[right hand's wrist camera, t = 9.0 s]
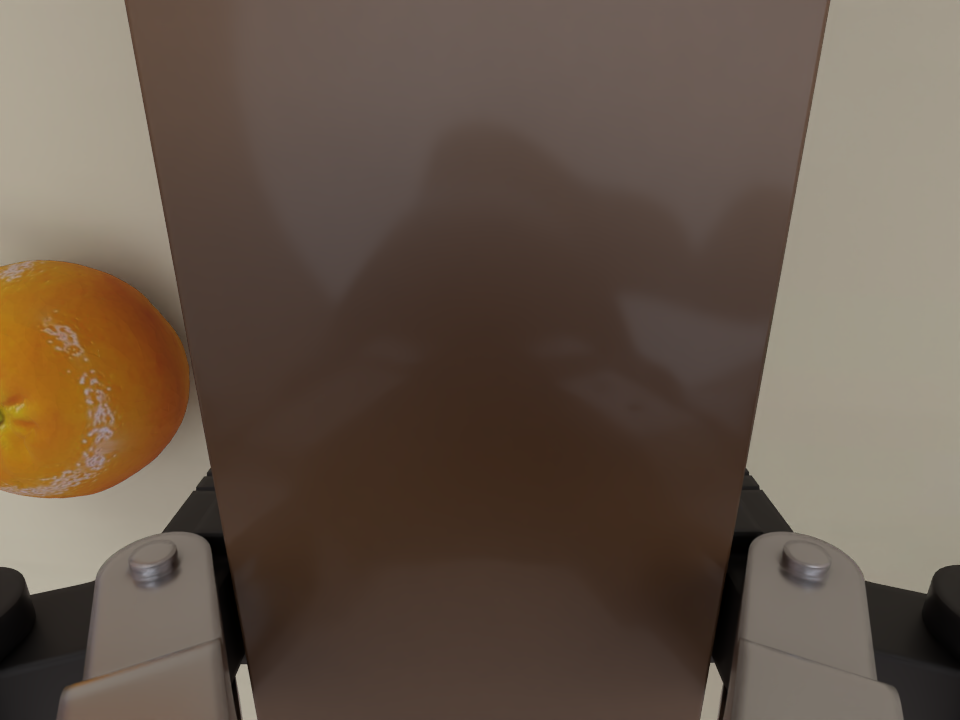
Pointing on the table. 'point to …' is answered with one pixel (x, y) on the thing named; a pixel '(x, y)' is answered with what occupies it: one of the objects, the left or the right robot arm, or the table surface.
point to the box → (478, 332)
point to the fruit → (82, 380)
